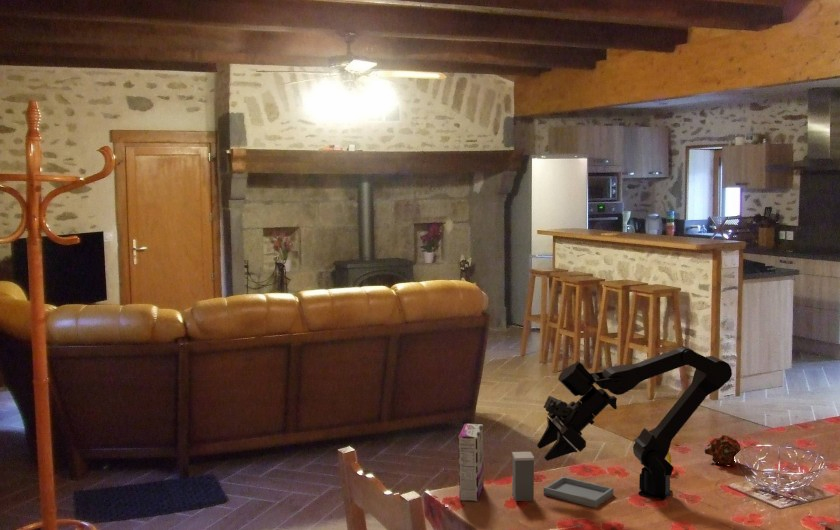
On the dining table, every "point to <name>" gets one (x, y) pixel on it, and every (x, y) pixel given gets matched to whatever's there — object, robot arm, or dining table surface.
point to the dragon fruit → (723, 450)
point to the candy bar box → (471, 462)
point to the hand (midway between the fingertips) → (541, 453)
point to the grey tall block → (523, 476)
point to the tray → (578, 491)
